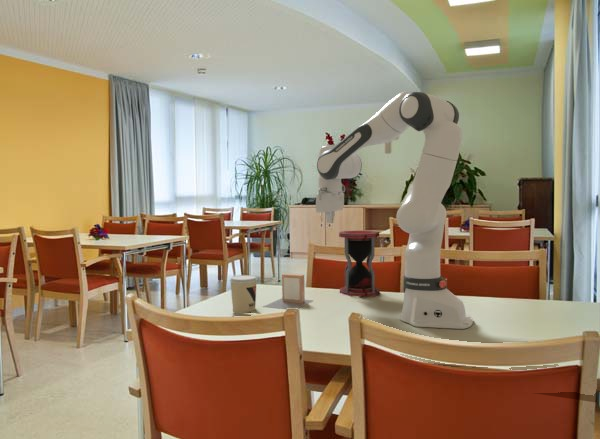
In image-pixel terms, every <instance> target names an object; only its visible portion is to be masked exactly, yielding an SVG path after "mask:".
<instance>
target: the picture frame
mask: <svg viewBox="0 0 600 439" xmlns="http://www.w3.org/2000/svg"><path fill="white" fill-rule="evenodd" d="M281 284H282V285H281V286H282V288H281V291H282V292H281V295H282V297H281V298H282V301H287V302H297V303H303V302H305V300H306V298H305V297H306V295H305V292H306V291H305V274H298V273H297V274H296V273H283V274H282V275H281Z"/></svg>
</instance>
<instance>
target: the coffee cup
mask: <svg viewBox="0 0 600 439" xmlns="http://www.w3.org/2000/svg"><path fill="white" fill-rule="evenodd" d="M229 281H230V292H231V301H232V302H231V304H232V310H233V313H234V314H239V315H245V314H252V313H253V312H252V311H254V310H256V302H257V300H256V299H257V281H258V279H257V276H255V275H250V274H249V275H246V274H244V275H234V276H230V279H229Z"/></svg>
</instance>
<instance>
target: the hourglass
mask: <svg viewBox="0 0 600 439" xmlns="http://www.w3.org/2000/svg"><path fill="white" fill-rule="evenodd" d="M338 237H339V238H344V254H345V255H344V256H345V258H346V260H347V264H346V265H345V269H344V286H343V287H341V288H339V294H342V295H345V296H354V297H359V298H372V297H376V296H378V295H380V294H381V293H380V288H378V287H375V285H376V284H375V283H376V282H375V271H374V269H373V265H372V263H373V262H372V261H373V260H374V257H375V238H379V237H380V232H379V231H376V230H344V231H339V232H338ZM351 258H352V259H351ZM352 260H353V261H354V262H355V265H353V263H352ZM365 260H366V266H367V267H368V268H367V267H366V266H365V265H364V264H363V262H364V261H365ZM352 265H353V266H352Z"/></svg>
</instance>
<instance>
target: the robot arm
mask: <svg viewBox="0 0 600 439" xmlns="http://www.w3.org/2000/svg"><path fill="white" fill-rule="evenodd" d="M459 119H460V112H459V110H458V108H457V106H456V105H454V104H453V103H452V102H450V101H448V100H445V99H443V98H440V97H439V96H437V95H433V94H429V93H426V92H423V91H413V92H411V91H408V90H407V91H406V90H405V91H401V92H400V93H398V94H397V95H395V96H394V97H393V98H391V99H390V100H388V102H386V103H385V104H384V105H383V107H381V109H379V110H378V111H377V112H376V113H375V114H374V115H373V116H372V117H371V118H369V119H368V120H366V121H365V122H363V123H362V124H361V125H360V126H358V127H357V128H355V129H354V130H352V131H351V132H350V133H349V134H347V135H346V136H345V137H344V138H343V139H342V140H341V141H339V142H338V143H337V144H327V145H325V146H322V147H321V148H319V151H318V158H317V160H316V161H317V162H316V169H317V171H318V174H319V175H318V179H317V180H318V185H317V186H318V192H317V193H316V196H315V211H316V213H319V214H320V213H321V214H322V213H324V216H325V219H326V224H334V222H335V217H336V212H339V211H343V210H344V208H345V206H344V205H345V192H346V187H345V185H344V184H343V183H342V179H354V178H357V177H358V176H359V175H360V173H361V171H362V168H363V164H362V159H361V158H360V156H359V155H358V154H356V153H357V152H358V151H359V150H361V149H363V148H365V147H366V148H367V147H370V146H374V145H381V144H389V143H391V142H392V141H394V140H396V139H398V138H399V137H400V136H401V135H402V134H404V133H405V131H406V130H407V129H408V128H409V127H411V128H413V130H415V131H417V132H421V131H422V132H423V133H424V134H423V135H424V138H425V141H424V143H423V148H422V151H421V154H420V157H419V161H418V165H417V169H416V172H415V174H414V177H413V180H412V183H411V185H410V186H409V189H408V191H407V193H406V195H405V197H404V200H403V203H402V204H401V206H399V208H398V209H397V212H396V224H397V225H398V227H399V228H400V229H401V230H402V231H403V232H405V233H408V234H409V237H408V240H407V245H406V248H405V251H404V275H403V280H402V281H403V282H402V283H403V284H402V289H403V302H402V303H403V305H402V309H401V314H400V316H399V319H400V321H402V322H405V323H407V324H410V325H411V326H413V327H417V328H418V327H419V328H436V329H437V328H440V329H453V330H454V329H455V330H456V329H457V330H464V329H467V328H470V327H472V325H473V324H474V320H473V317H472V316H470V315H467V312H466V307H465V304H464V302H463V301H462V299H461V298H459V297H458V296H456V295H455V294H454V293H452V292H451V291H450V289H448V288H447V287H448V279H447V278H445V277H443V276H442V275H441V251H442V250H441V249H442V243H443V238H444V230H445V222H446V219H447V209H446V207H445V205H443V204H442V202H443V199H444V197H445V195H446V193H447V191H448V189H449V188H450V186H451V183H452V180H453V177H454V172H455V170H456V166H457V163H458V160H459V156H460V151H461V145H462V139H463V138H462V137H463V131H462V128H461V126H460V125H459V124H458V123H459Z"/></svg>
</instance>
